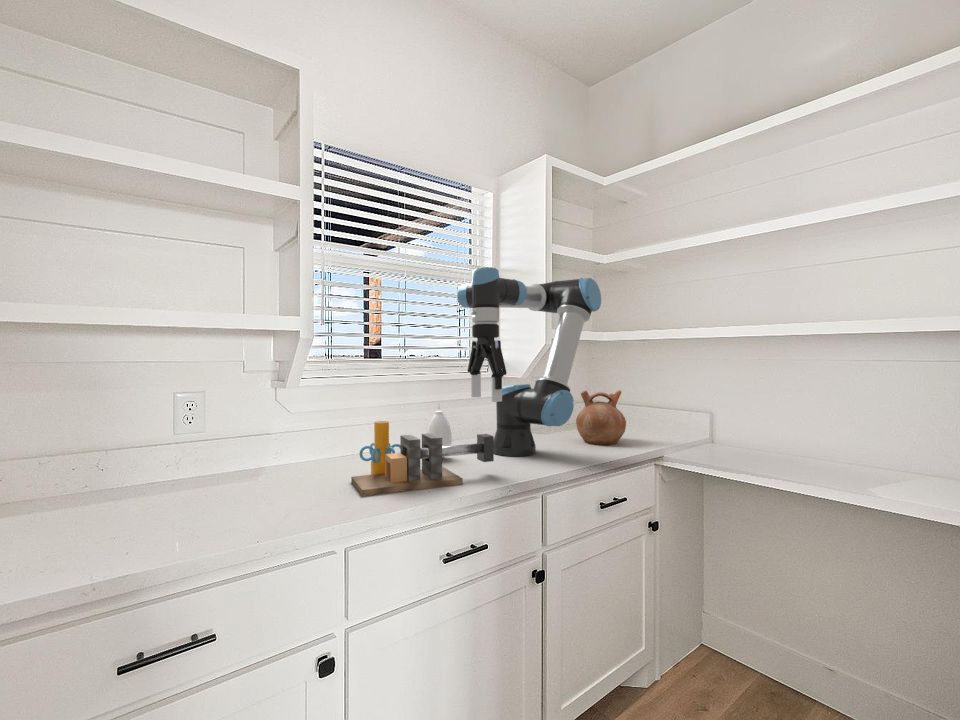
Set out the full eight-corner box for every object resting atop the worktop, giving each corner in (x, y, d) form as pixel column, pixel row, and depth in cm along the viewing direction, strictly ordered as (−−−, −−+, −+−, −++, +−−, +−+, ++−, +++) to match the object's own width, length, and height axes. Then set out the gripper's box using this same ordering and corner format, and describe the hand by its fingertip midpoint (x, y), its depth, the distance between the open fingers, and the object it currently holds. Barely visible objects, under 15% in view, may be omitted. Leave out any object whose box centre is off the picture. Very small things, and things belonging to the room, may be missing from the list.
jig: (443, 472, 144) (443, 430, 144) (462, 484, 131) (462, 438, 131) (351, 482, 133) (351, 437, 133) (362, 496, 120) (362, 446, 120)
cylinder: (391, 482, 133) (391, 425, 133) (354, 480, 135) (354, 424, 135) (407, 471, 145) (407, 419, 145) (373, 469, 147) (373, 418, 147)
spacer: (400, 475, 135) (399, 452, 135) (407, 480, 129) (406, 457, 129) (385, 476, 133) (385, 454, 133) (391, 482, 127) (391, 458, 127)
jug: (624, 439, 198) (624, 388, 198) (627, 447, 181) (627, 392, 180) (577, 437, 202) (577, 387, 202) (575, 445, 185) (575, 391, 184)
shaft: (486, 458, 144) (486, 433, 144) (493, 461, 140) (493, 436, 140) (410, 465, 135) (410, 439, 135) (416, 469, 131) (415, 442, 131)
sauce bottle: (442, 462, 157) (442, 404, 157) (422, 459, 161) (422, 403, 161) (455, 457, 164) (455, 402, 164) (436, 455, 168) (436, 401, 168)
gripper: (456, 325, 151) (456, 396, 151) (493, 321, 128) (493, 404, 129) (479, 325, 154) (479, 395, 154) (519, 321, 131) (519, 402, 132)
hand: (486, 399), depth 142 cm, fingers open, 13 cm apart
